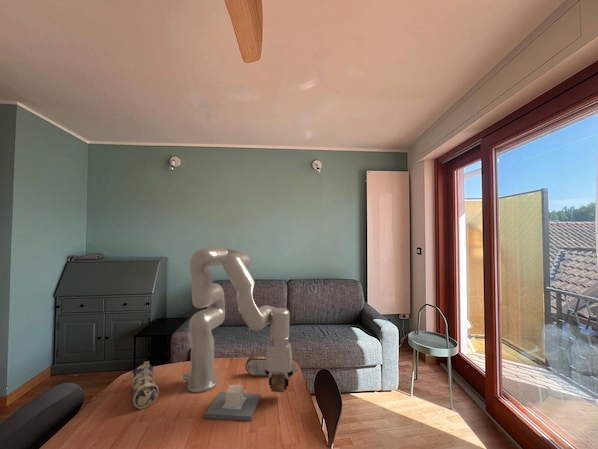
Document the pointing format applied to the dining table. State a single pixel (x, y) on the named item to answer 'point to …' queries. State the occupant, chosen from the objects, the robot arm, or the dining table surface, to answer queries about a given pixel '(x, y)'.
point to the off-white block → (234, 396)
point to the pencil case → (144, 386)
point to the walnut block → (278, 382)
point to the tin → (256, 365)
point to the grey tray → (234, 413)
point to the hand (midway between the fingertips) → (278, 386)
